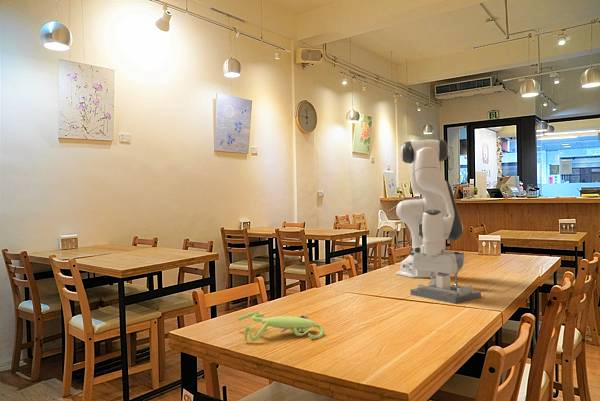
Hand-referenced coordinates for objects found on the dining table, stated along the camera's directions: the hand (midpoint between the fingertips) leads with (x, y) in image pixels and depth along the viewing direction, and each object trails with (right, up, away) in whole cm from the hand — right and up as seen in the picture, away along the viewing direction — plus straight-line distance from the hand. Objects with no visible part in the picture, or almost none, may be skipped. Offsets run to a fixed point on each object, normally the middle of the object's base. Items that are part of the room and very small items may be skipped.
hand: (435, 282), depth 185 cm
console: (+3, -5, -4) cm, 7 cm away
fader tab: (+2, -2, -3) cm, 5 cm away
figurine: (-63, -8, -45) cm, 78 cm away
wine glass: (+13, -4, +13) cm, 19 cm away
